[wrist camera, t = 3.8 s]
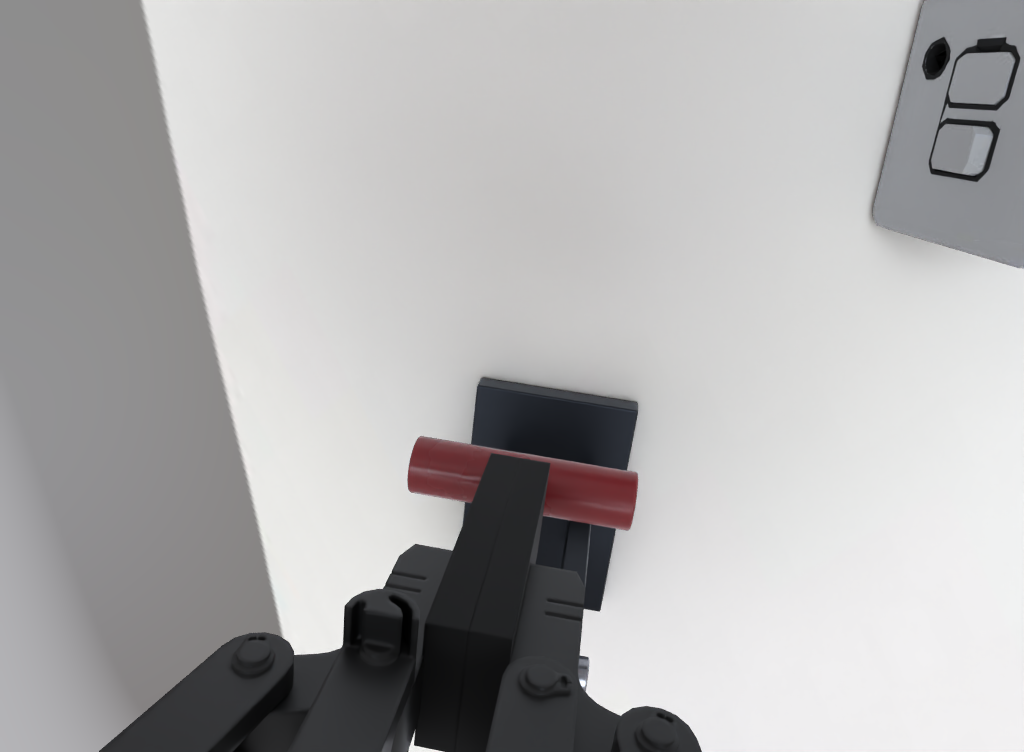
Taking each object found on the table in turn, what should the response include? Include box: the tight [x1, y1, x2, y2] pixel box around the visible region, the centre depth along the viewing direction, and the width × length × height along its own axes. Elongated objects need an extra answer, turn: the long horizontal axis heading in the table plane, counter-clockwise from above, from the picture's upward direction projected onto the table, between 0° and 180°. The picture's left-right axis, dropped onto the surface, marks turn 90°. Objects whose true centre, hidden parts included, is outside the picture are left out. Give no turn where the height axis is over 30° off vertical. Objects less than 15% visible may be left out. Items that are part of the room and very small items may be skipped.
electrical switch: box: [873, 0, 1024, 268], centre depth 27 cm, size 9×5×9 cm, turn 175°
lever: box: [408, 436, 638, 530], centre depth 24 cm, size 13×6×2 cm, turn 173°
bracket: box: [463, 378, 638, 691], centre depth 33 cm, size 12×8×15 cm, turn 173°
